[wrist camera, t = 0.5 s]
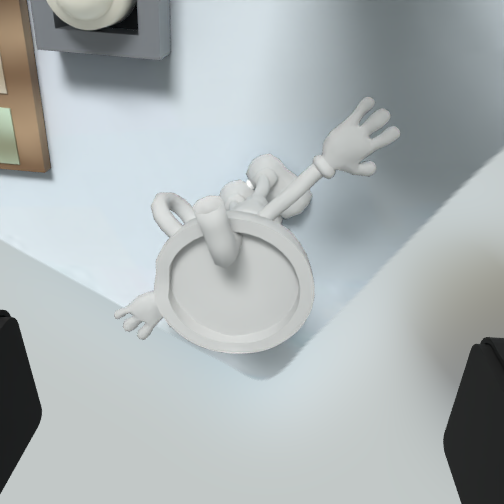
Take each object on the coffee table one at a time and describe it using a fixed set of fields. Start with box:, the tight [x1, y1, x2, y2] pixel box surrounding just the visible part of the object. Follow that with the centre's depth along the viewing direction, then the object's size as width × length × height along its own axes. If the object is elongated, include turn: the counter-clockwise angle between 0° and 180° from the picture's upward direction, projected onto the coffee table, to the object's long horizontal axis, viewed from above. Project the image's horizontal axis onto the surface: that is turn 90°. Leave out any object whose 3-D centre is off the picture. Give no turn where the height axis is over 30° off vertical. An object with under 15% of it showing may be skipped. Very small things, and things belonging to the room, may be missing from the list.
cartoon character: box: [114, 97, 400, 354], centre depth 34 cm, size 25×12×20 cm, turn 134°
